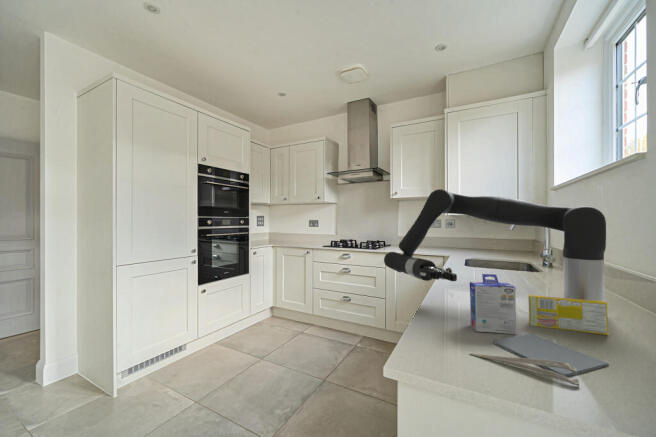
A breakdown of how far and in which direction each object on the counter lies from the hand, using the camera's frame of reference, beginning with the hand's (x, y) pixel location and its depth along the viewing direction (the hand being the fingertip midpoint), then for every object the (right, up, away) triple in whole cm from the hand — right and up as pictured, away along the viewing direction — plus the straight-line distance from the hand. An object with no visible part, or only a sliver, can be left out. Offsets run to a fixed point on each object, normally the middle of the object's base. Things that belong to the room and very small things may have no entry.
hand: (454, 277), depth 84 cm
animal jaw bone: (-2, -11, -31) cm, 33 cm away
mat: (+8, -11, -26) cm, 29 cm away
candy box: (+24, -11, -12) cm, 29 cm away
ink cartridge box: (+4, -11, -13) cm, 17 cm away
